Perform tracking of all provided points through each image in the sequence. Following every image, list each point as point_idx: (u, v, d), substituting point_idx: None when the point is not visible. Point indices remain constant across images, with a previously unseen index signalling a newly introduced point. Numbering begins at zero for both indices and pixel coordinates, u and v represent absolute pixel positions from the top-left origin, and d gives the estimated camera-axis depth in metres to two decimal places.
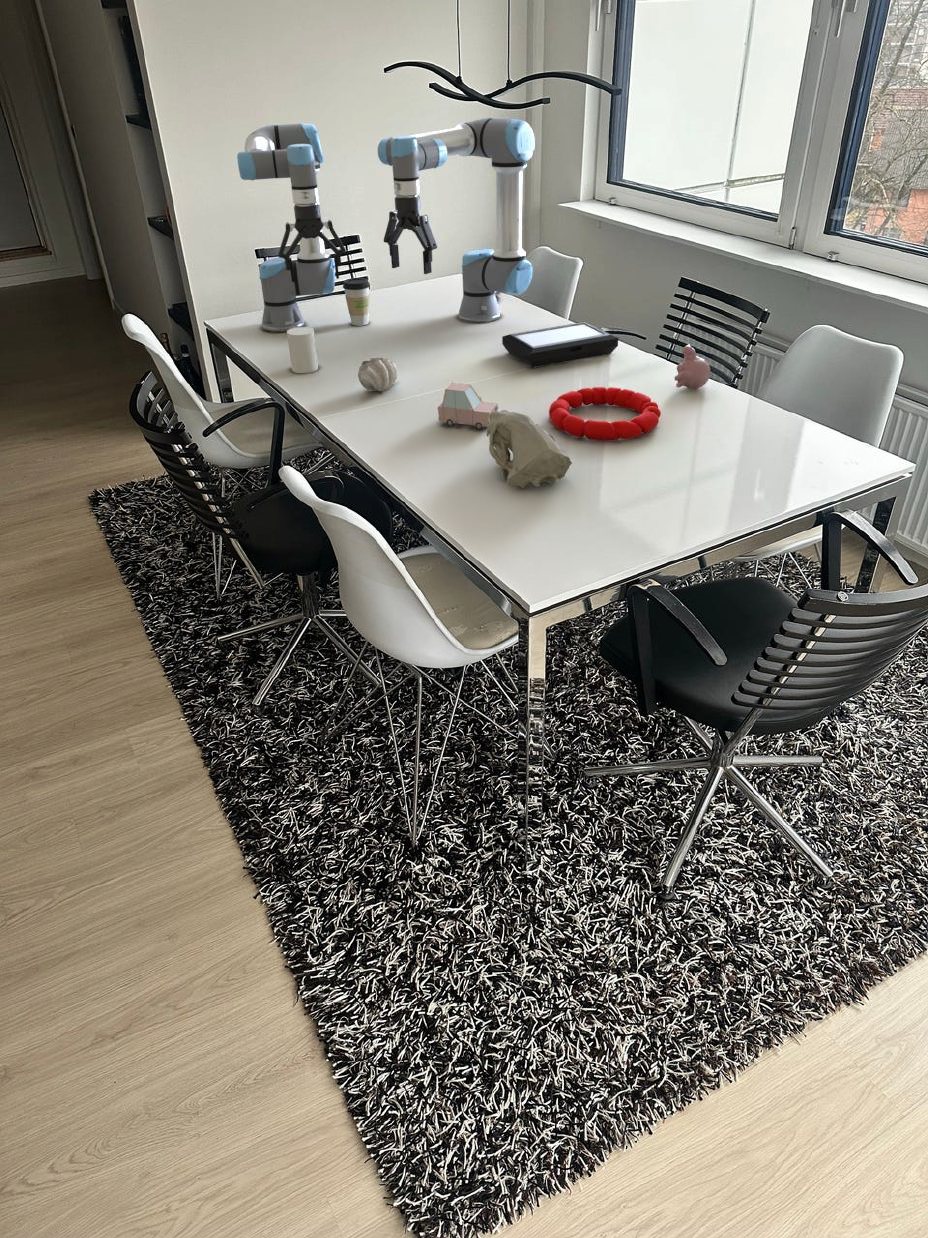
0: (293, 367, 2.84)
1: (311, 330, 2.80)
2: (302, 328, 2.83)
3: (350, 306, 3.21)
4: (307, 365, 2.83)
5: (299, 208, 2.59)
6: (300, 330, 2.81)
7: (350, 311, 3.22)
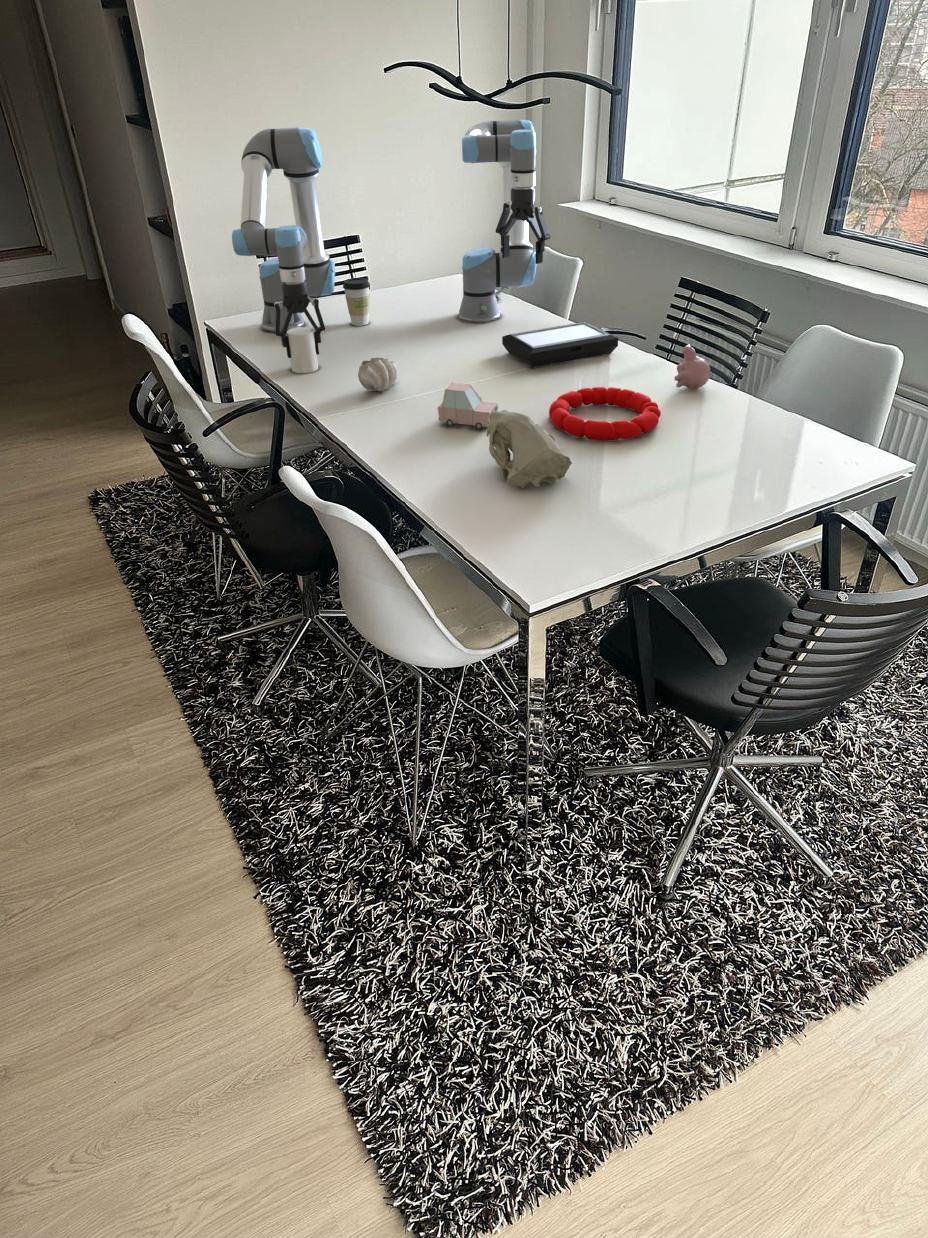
0: (293, 367, 2.84)
1: (311, 330, 2.80)
2: (302, 328, 2.83)
3: (350, 306, 3.21)
4: (307, 365, 2.83)
5: (287, 286, 2.69)
6: (300, 330, 2.81)
7: (350, 311, 3.22)
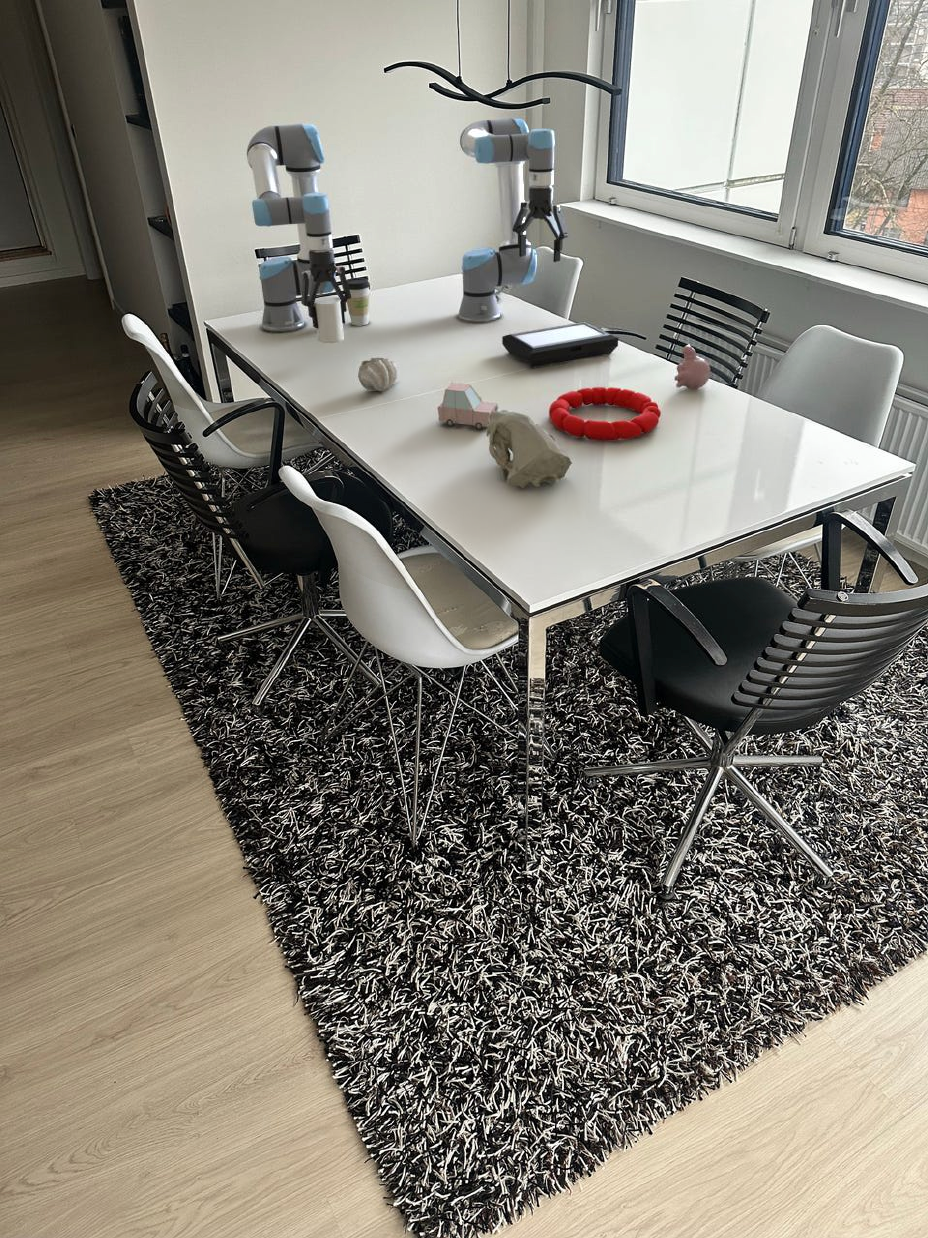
0: (321, 337, 2.82)
1: (337, 299, 2.79)
2: (327, 297, 2.81)
3: (350, 306, 3.21)
4: (335, 334, 2.81)
5: (317, 254, 2.67)
6: (326, 299, 2.79)
7: (350, 311, 3.22)
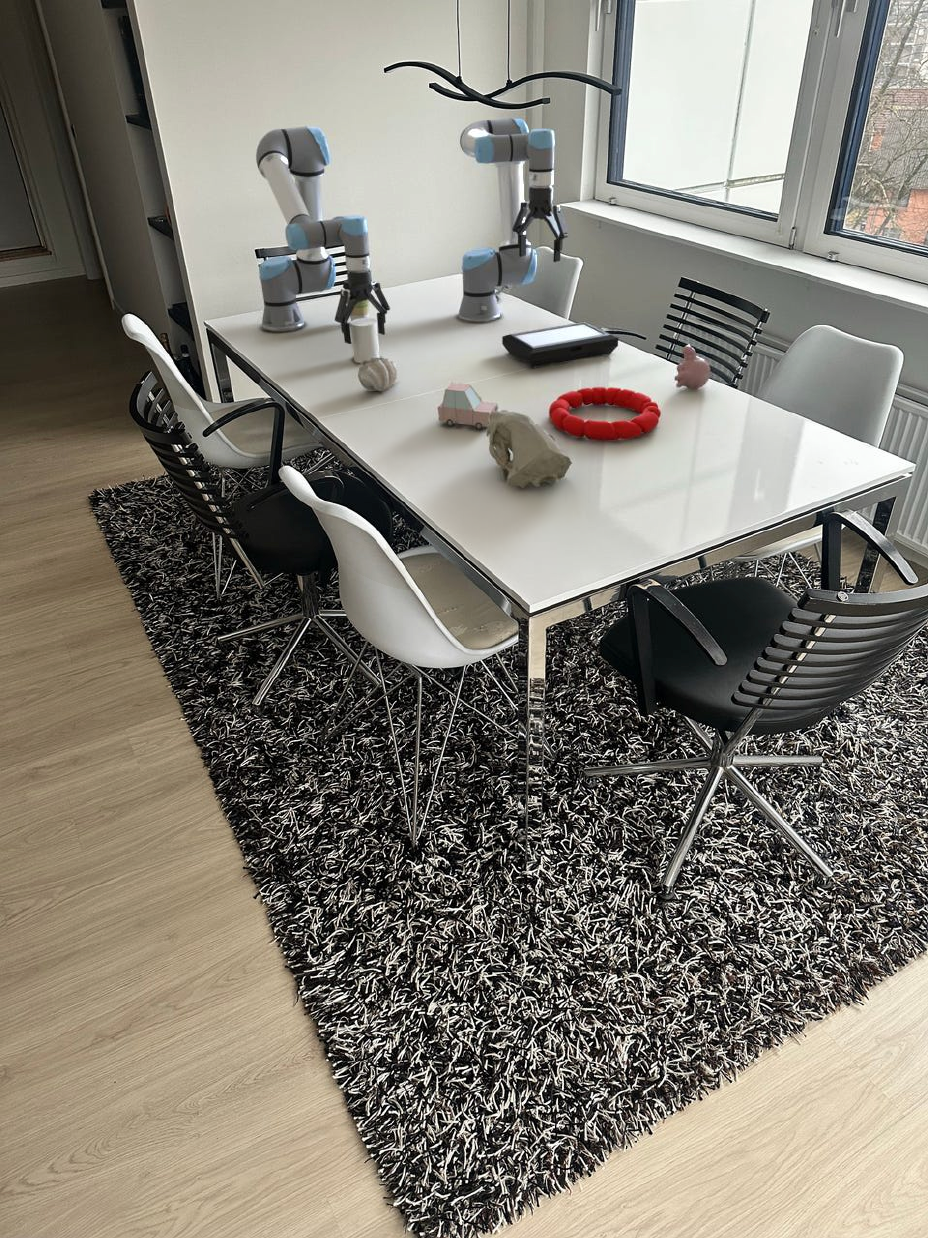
0: (359, 358, 2.90)
1: (373, 320, 2.88)
2: (362, 319, 2.89)
3: None
4: (374, 354, 2.90)
5: (358, 274, 2.75)
6: (362, 321, 2.87)
7: None
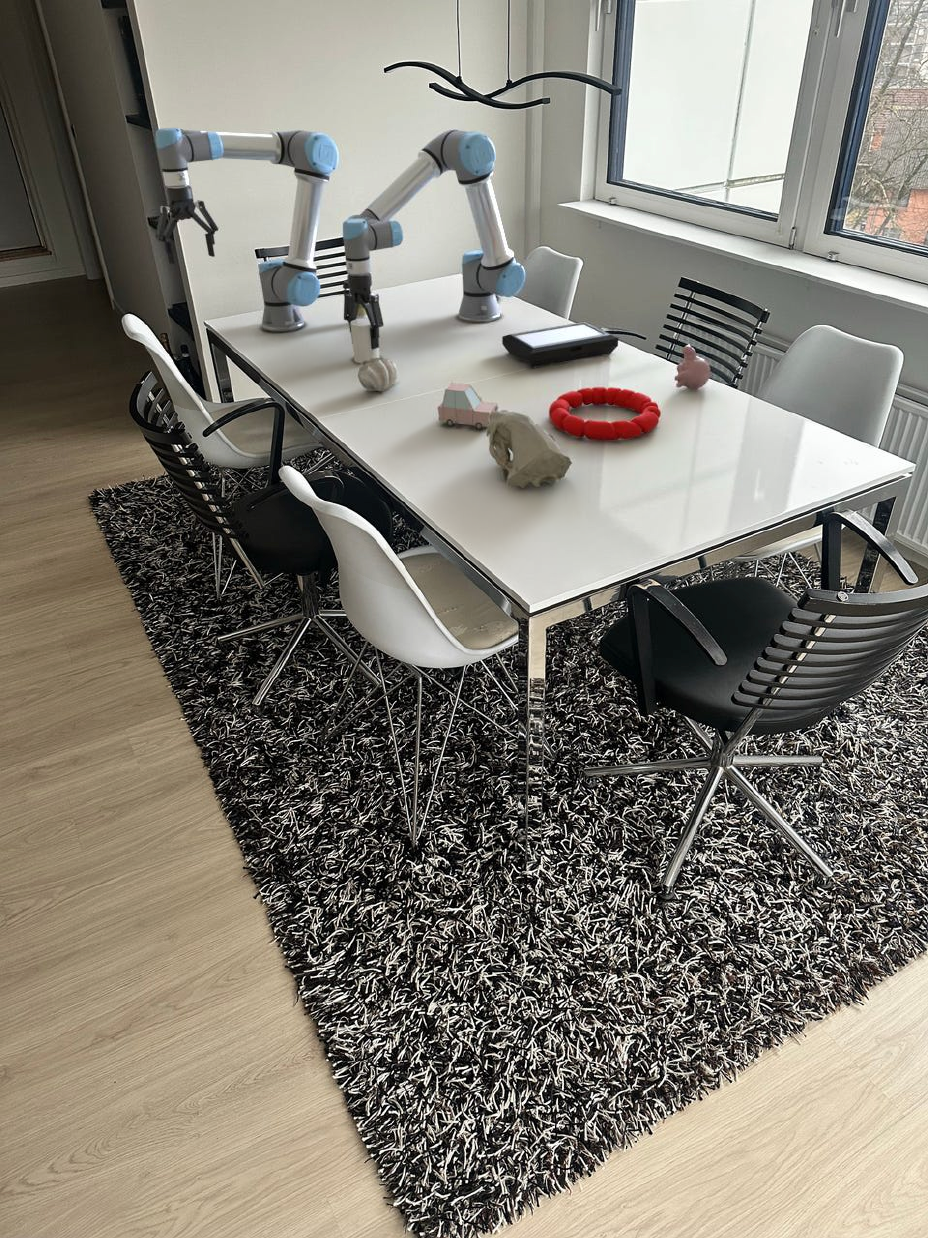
0: (359, 358, 2.90)
1: None
2: (362, 319, 2.89)
3: None
4: (374, 354, 2.90)
5: (176, 190, 2.68)
6: (362, 321, 2.87)
7: None
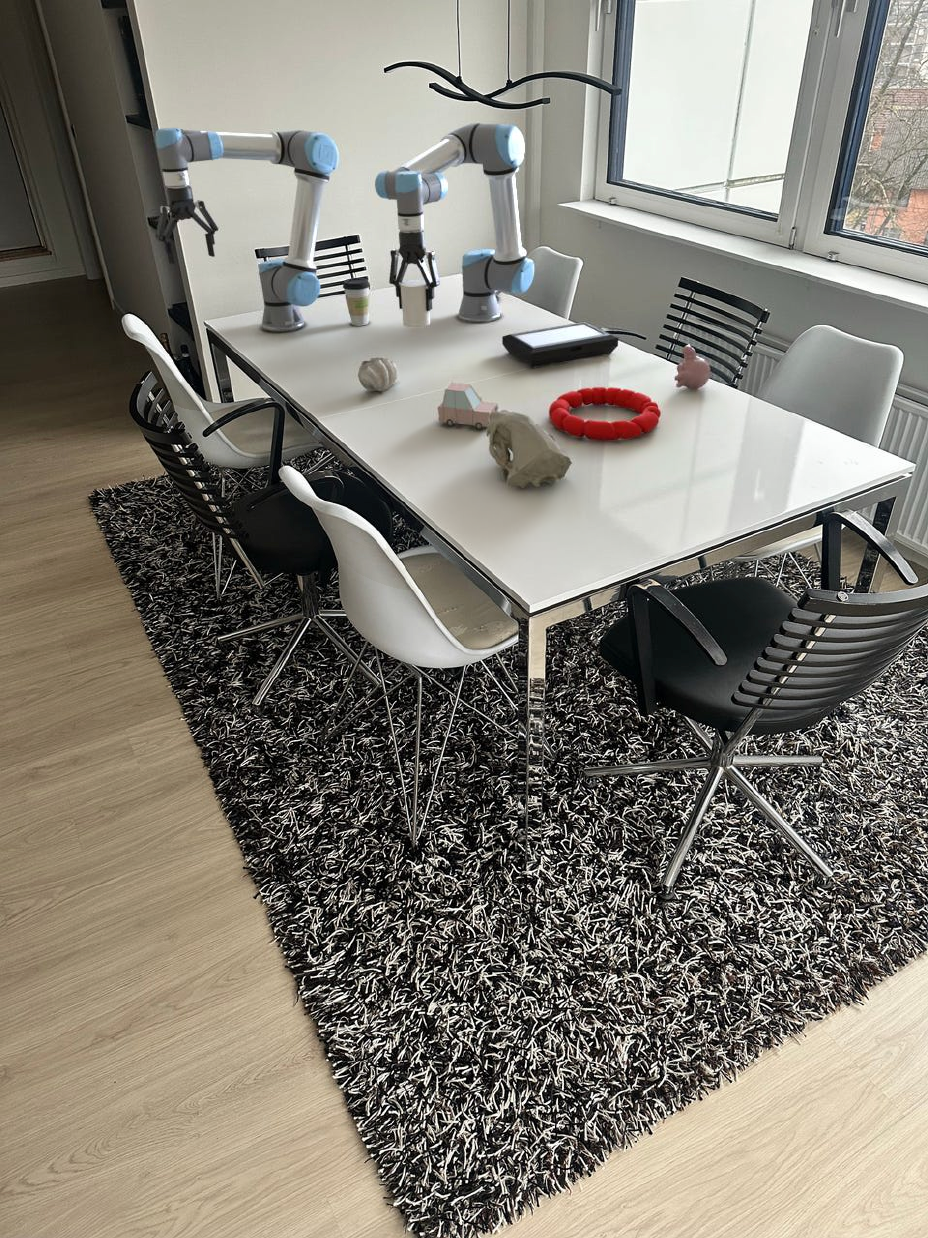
0: (414, 322, 2.73)
1: (423, 280, 2.72)
2: (409, 281, 2.72)
3: (350, 306, 3.21)
4: (428, 317, 2.74)
5: (176, 190, 2.68)
6: (412, 282, 2.71)
7: (350, 311, 3.22)
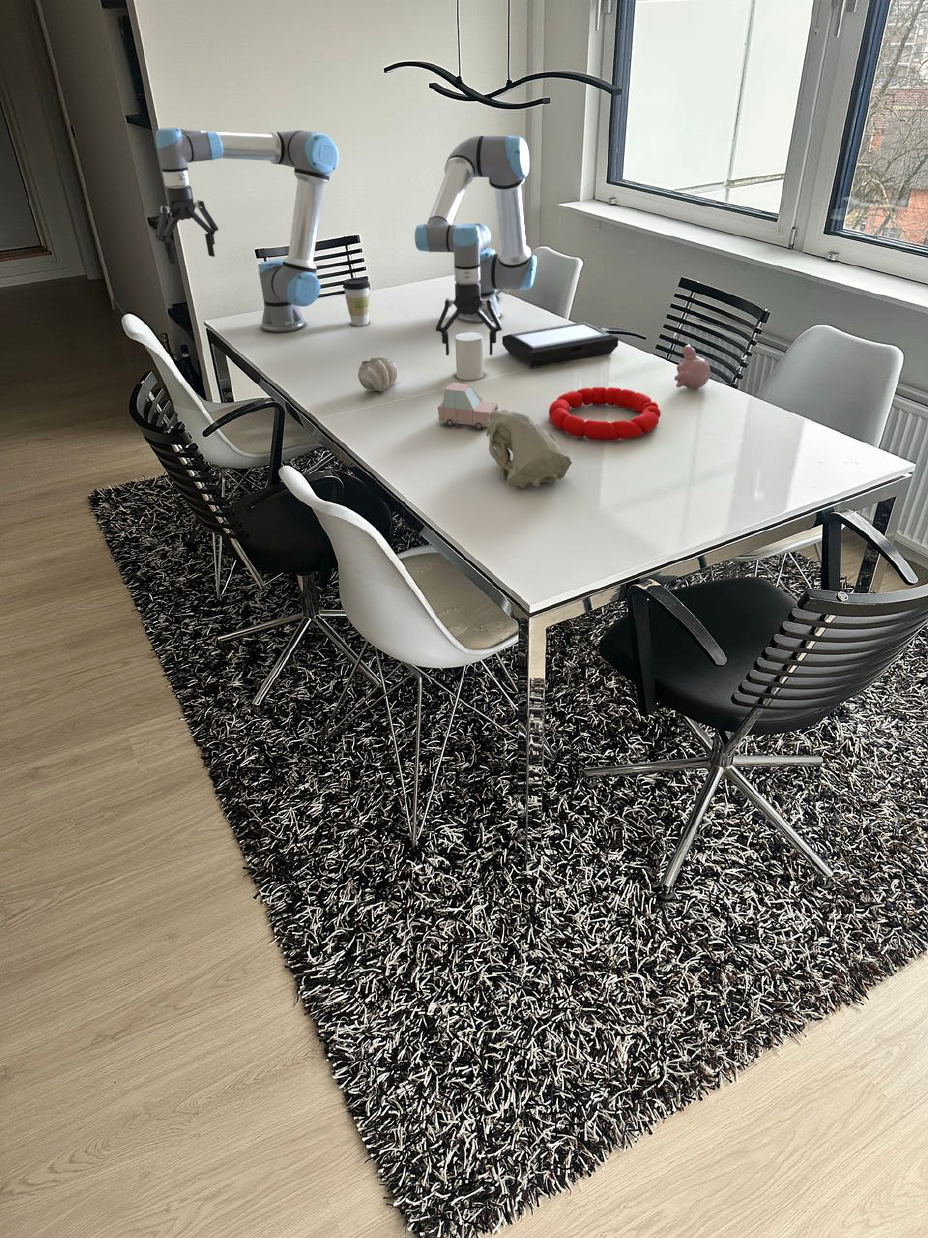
0: (472, 375, 2.73)
1: (474, 333, 2.73)
2: (462, 334, 2.72)
3: (350, 306, 3.21)
4: None
5: (176, 190, 2.68)
6: (466, 336, 2.71)
7: (350, 311, 3.22)
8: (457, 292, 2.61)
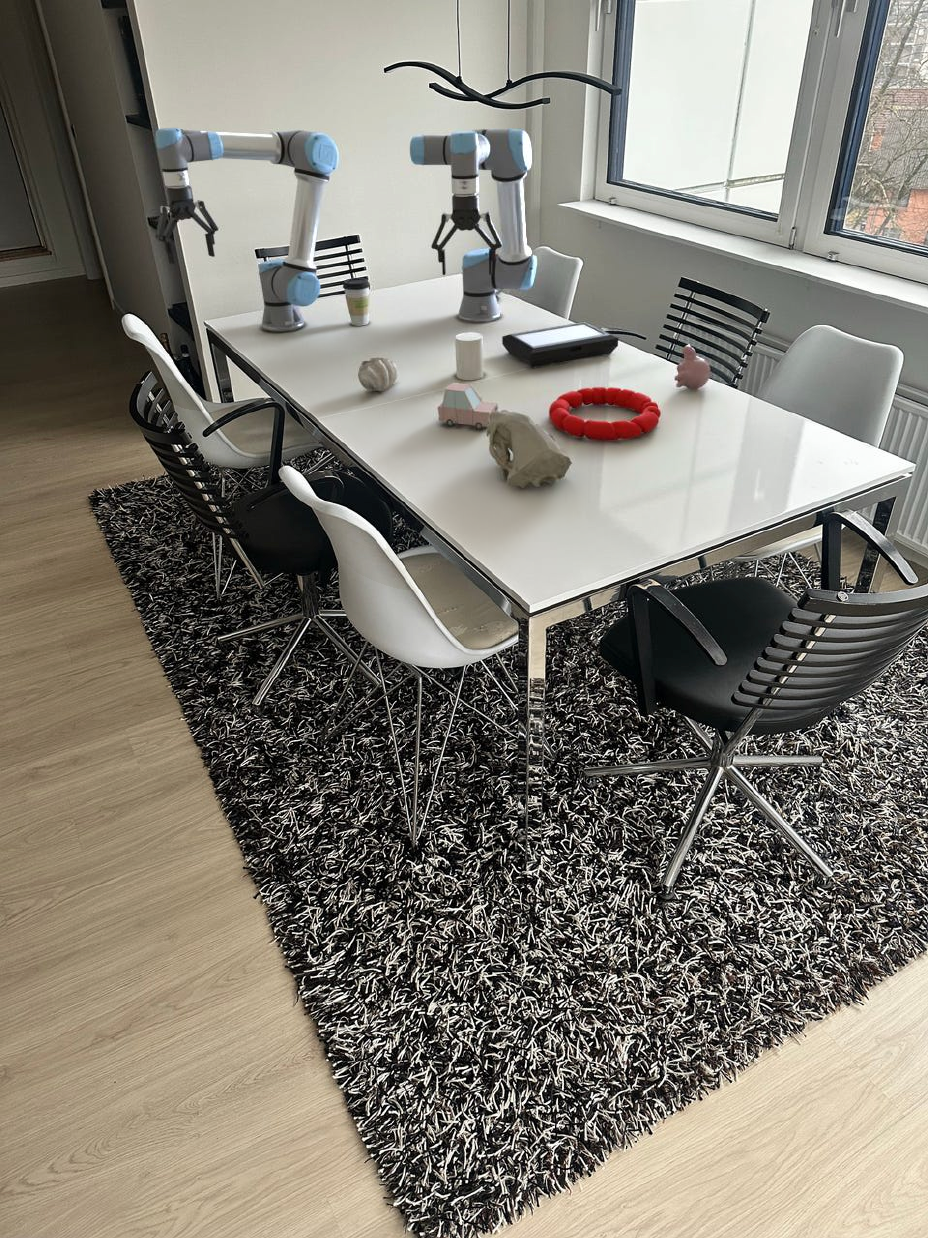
0: (472, 375, 2.73)
1: (474, 333, 2.73)
2: (462, 334, 2.72)
3: (350, 306, 3.21)
4: None
5: (176, 190, 2.68)
6: (466, 336, 2.71)
7: (350, 311, 3.22)
8: (454, 205, 2.48)
